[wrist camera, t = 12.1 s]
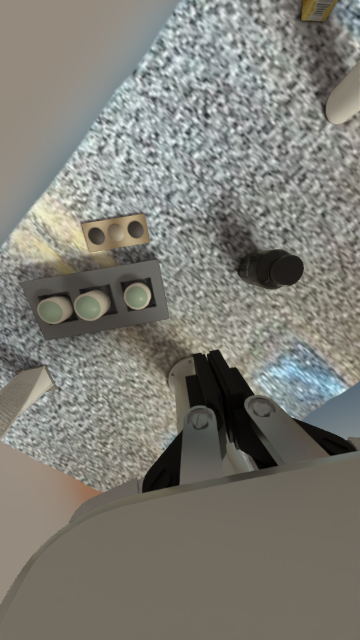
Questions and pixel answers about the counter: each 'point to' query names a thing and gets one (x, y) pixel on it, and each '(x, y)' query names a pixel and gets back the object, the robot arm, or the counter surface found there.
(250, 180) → the counter surface
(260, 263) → the supplement bottle
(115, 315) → the grey flat block
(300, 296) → the counter surface
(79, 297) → the button
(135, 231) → the pattern card
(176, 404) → the robot arm
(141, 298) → the button
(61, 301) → the button
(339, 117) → the drinking glass
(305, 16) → the candy box
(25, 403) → the skyscraper
